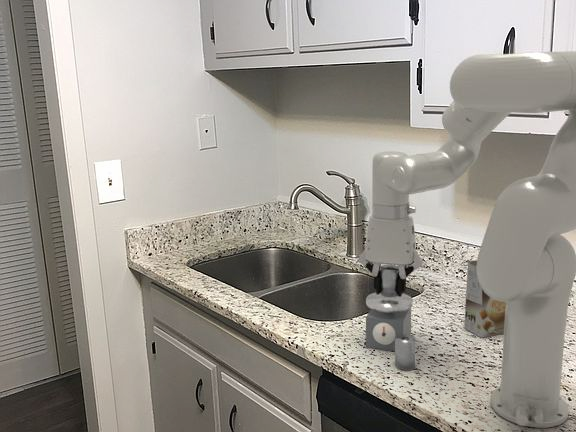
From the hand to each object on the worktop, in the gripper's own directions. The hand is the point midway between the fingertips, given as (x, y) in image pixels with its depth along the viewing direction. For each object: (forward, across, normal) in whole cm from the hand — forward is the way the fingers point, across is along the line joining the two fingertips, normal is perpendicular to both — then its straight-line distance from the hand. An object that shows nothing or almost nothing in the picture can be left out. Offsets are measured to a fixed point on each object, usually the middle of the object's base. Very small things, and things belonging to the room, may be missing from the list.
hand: (389, 292), depth 130 cm
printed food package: (+11, -20, -12) cm, 26 cm away
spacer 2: (+11, -5, +11) cm, 17 cm away
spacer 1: (0, 0, 0) cm, 0 cm away
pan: (+4, 0, 0) cm, 4 cm away
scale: (+11, 0, 0) cm, 11 cm away
